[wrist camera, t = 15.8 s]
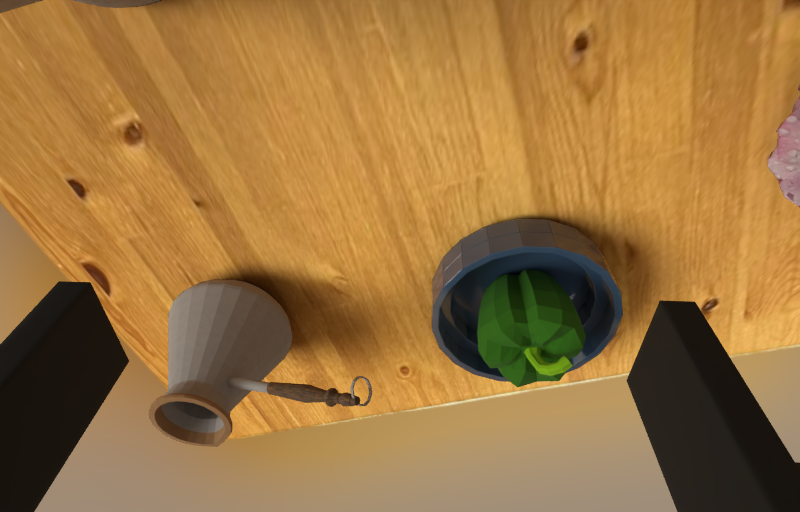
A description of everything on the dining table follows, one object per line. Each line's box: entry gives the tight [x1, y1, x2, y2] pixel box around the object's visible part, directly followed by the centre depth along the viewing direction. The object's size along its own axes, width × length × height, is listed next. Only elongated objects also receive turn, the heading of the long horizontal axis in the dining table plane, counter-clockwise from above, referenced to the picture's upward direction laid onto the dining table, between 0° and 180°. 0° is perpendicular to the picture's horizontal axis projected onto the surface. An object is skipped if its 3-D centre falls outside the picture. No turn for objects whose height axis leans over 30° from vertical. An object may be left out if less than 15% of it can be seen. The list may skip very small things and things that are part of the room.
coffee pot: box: [149, 279, 372, 447], centre depth 42 cm, size 21×12×15 cm, turn 114°
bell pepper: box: [477, 270, 586, 387], centre depth 41 cm, size 8×8×10 cm
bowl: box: [432, 219, 623, 382], centre depth 44 cm, size 16×16×4 cm
